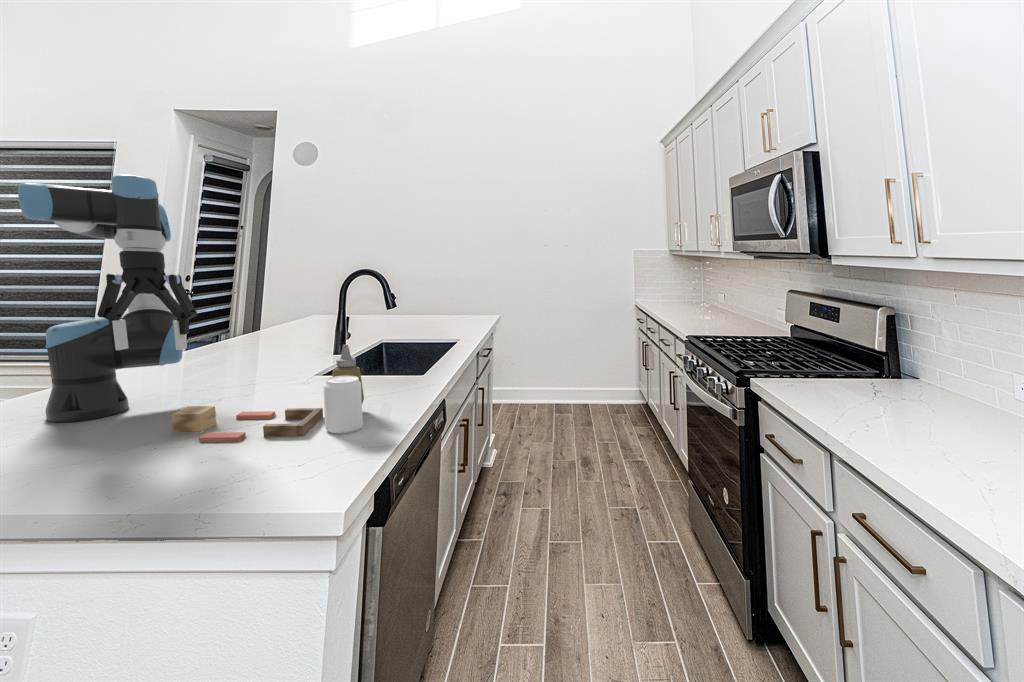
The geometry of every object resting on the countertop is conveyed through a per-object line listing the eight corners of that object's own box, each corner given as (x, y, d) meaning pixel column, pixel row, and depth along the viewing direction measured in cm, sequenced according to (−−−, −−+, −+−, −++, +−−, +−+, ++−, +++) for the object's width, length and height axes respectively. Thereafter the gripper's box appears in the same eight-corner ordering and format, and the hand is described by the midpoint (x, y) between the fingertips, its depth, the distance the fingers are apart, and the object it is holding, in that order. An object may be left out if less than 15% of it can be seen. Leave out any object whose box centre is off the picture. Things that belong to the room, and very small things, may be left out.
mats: (199, 442, 95) (198, 437, 94) (242, 415, 112) (242, 411, 112) (238, 441, 95) (238, 437, 95) (275, 415, 113) (275, 411, 113)
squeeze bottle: (324, 415, 113) (320, 346, 111) (347, 407, 121) (344, 341, 118) (349, 420, 110) (346, 348, 108) (371, 411, 118) (369, 343, 115)
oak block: (173, 433, 100) (171, 414, 99) (189, 424, 106) (188, 406, 105) (201, 433, 100) (199, 414, 100) (216, 424, 106) (215, 406, 106)
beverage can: (350, 436, 99) (348, 384, 97) (318, 433, 101) (315, 382, 99) (369, 424, 107) (367, 376, 105) (338, 422, 109) (336, 374, 107)
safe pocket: (263, 437, 98) (262, 426, 98) (287, 418, 111) (287, 408, 111) (303, 436, 99) (303, 425, 98) (323, 417, 112) (322, 408, 111)
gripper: (66, 248, 92) (79, 352, 95) (190, 250, 94) (199, 351, 97) (95, 250, 99) (107, 346, 102) (210, 252, 102) (218, 346, 105)
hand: (152, 349), depth 100 cm, fingers open, 12 cm apart
